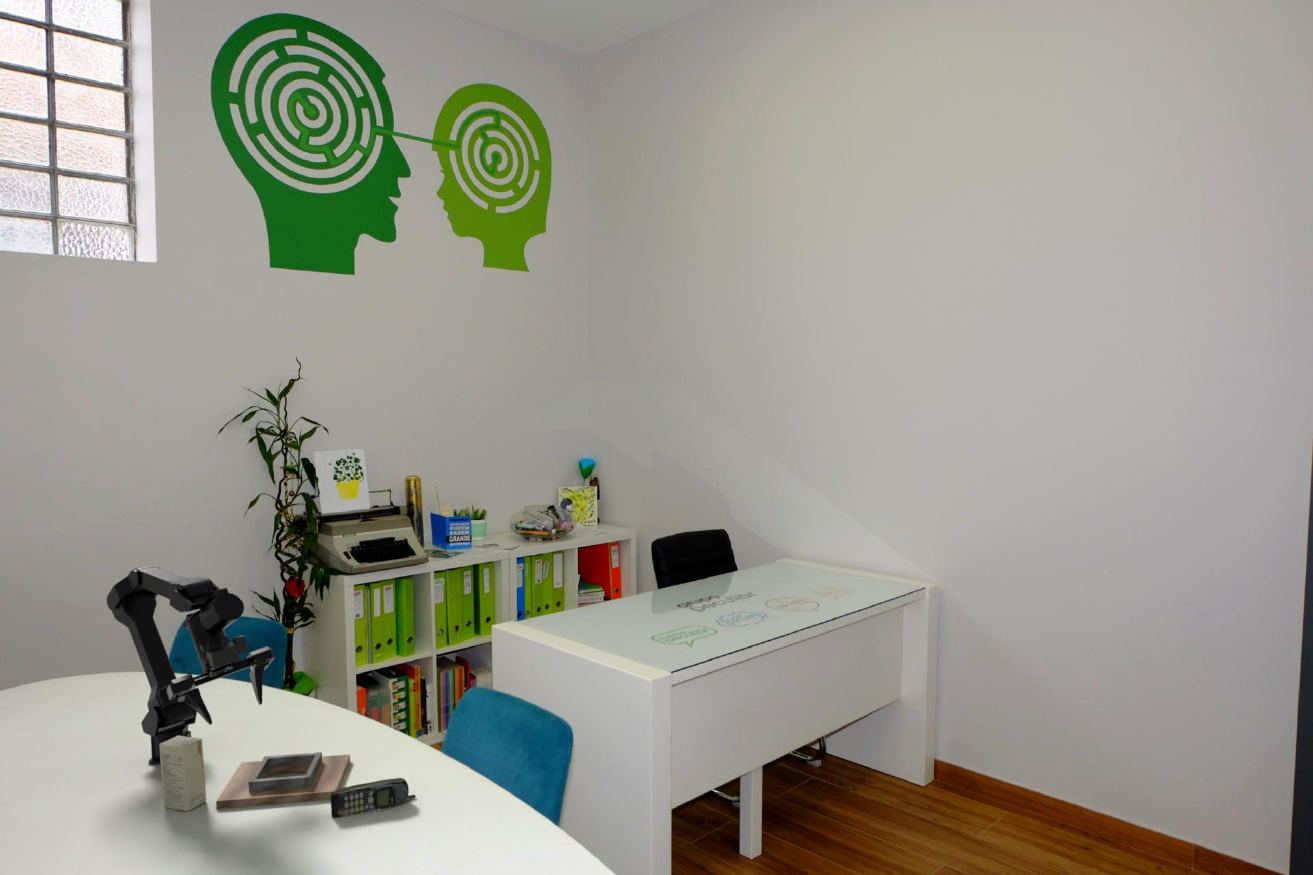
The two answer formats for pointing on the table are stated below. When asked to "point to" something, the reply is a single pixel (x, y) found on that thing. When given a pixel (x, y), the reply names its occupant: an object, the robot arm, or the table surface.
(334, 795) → the mobile phone
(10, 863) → the table surface
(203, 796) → the skincare box
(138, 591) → the robot arm
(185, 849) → the table surface
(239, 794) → the serum stand
